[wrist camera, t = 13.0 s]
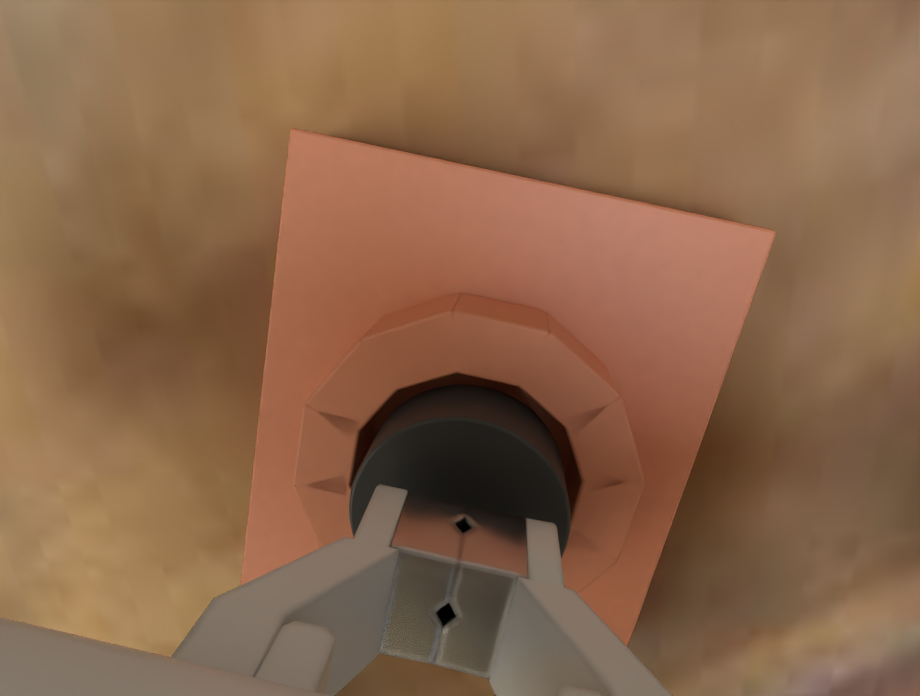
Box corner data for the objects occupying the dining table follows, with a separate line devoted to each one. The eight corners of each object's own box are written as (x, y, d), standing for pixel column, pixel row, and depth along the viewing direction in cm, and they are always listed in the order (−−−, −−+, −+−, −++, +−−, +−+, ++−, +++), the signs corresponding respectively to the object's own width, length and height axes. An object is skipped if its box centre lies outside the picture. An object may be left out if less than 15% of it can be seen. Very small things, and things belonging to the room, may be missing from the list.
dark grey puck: (536, 574, 13) (540, 636, 11) (357, 533, 13) (333, 587, 11) (585, 407, 11) (597, 446, 10) (387, 363, 12) (366, 394, 10)
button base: (599, 630, 17) (624, 760, 13) (270, 553, 17) (201, 660, 14) (737, 222, 14) (826, 240, 10) (323, 134, 14) (250, 118, 10)
